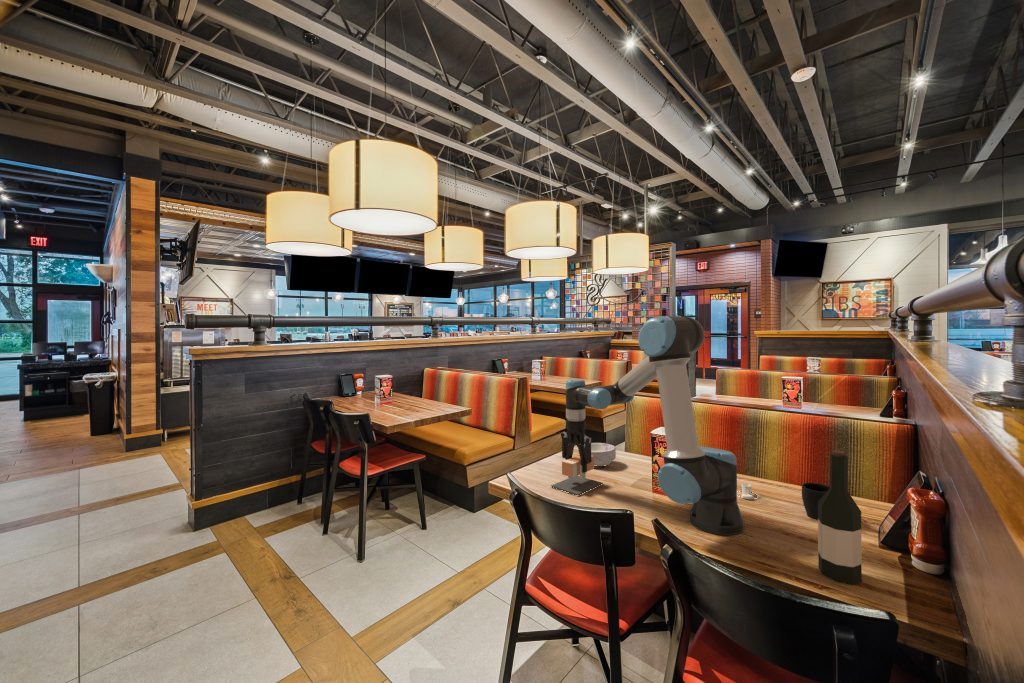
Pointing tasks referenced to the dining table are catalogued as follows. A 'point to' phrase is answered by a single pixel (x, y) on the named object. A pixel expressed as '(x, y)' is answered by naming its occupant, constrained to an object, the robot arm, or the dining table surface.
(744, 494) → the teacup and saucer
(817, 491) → the mug
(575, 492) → the mat
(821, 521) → the wine bottle
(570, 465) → the orange wooden block
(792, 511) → the dining table surface
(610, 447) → the grey bowl
